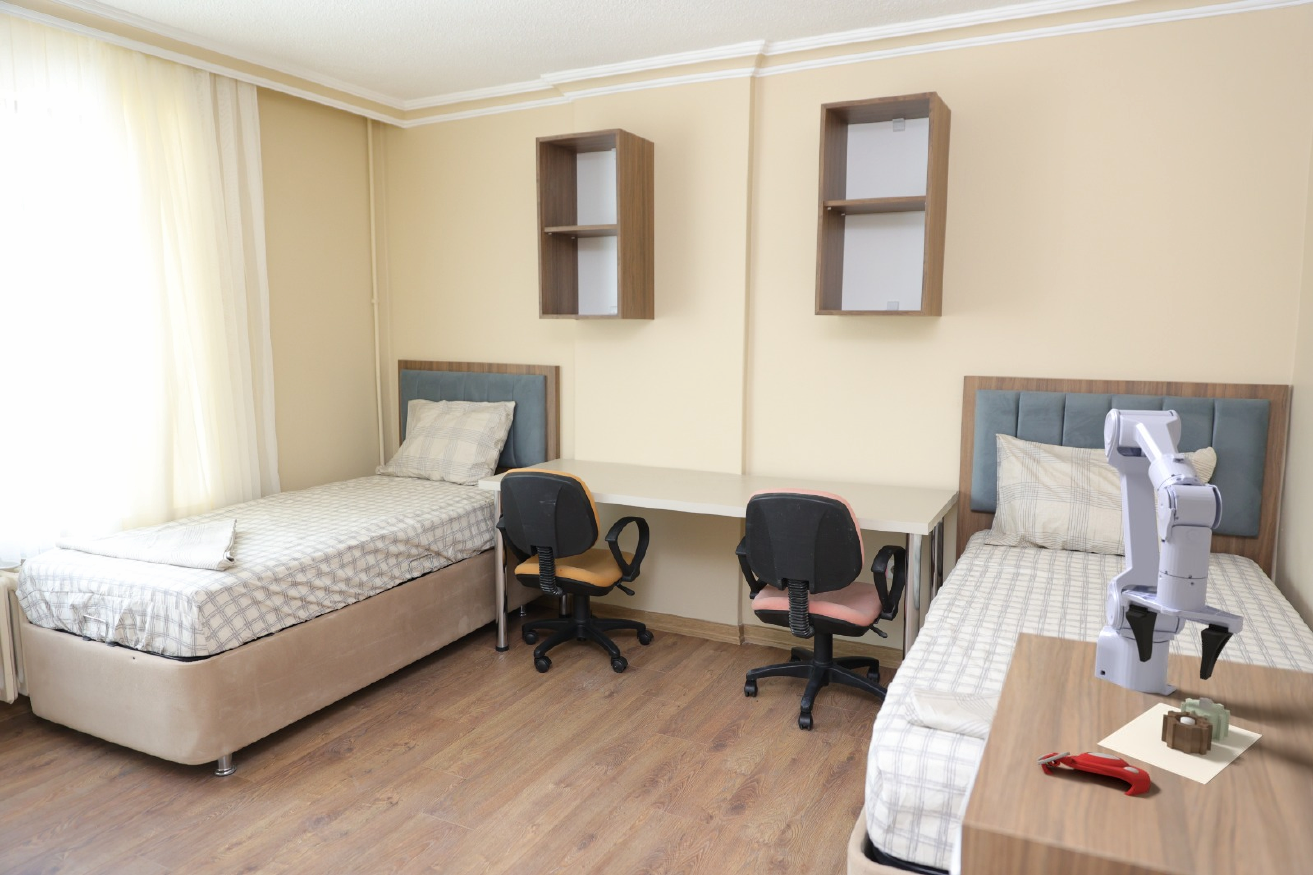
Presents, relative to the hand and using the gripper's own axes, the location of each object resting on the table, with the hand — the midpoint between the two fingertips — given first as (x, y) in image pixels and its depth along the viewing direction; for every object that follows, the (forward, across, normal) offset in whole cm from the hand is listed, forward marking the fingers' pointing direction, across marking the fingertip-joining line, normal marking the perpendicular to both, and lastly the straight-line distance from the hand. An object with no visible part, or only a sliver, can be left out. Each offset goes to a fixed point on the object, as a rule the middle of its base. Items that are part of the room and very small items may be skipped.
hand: (1174, 668), depth 121 cm
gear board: (+9, +2, -3) cm, 10 cm away
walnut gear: (+8, +4, -4) cm, 10 cm away
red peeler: (+10, -1, -21) cm, 23 cm away
